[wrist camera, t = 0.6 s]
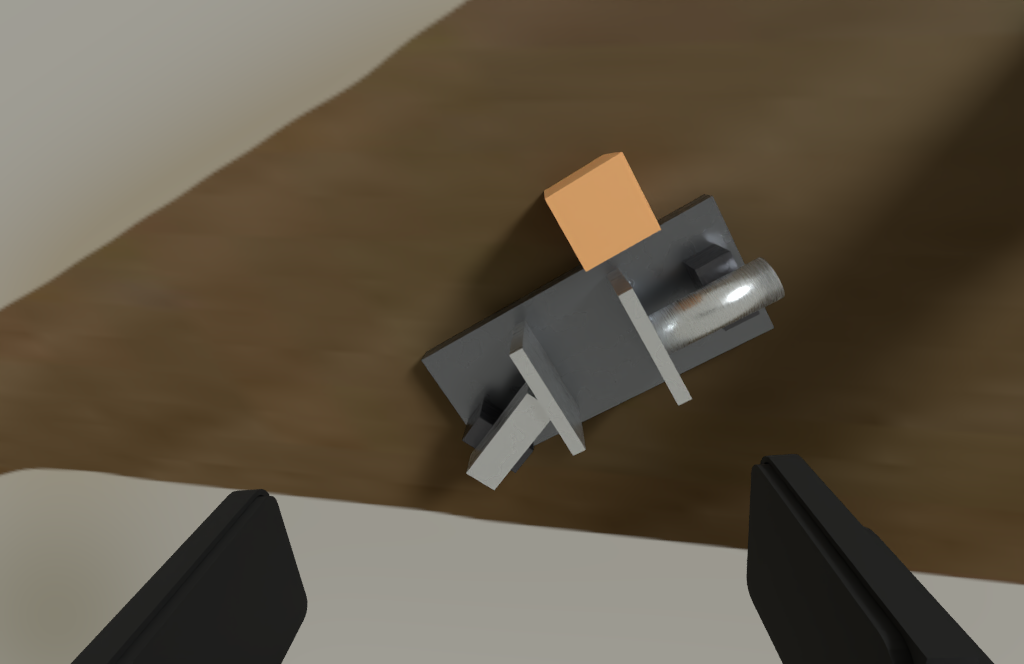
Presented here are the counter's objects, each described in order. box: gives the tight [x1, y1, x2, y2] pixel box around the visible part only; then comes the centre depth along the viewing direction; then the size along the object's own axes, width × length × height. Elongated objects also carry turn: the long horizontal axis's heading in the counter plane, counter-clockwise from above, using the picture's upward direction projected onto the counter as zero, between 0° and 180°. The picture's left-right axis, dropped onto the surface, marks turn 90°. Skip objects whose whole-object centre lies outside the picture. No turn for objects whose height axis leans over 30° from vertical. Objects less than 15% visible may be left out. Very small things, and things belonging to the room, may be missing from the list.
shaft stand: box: [422, 194, 784, 490], centre depth 29 cm, size 20×9×6 cm, turn 121°
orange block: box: [544, 152, 661, 272], centre depth 27 cm, size 4×4×7 cm
